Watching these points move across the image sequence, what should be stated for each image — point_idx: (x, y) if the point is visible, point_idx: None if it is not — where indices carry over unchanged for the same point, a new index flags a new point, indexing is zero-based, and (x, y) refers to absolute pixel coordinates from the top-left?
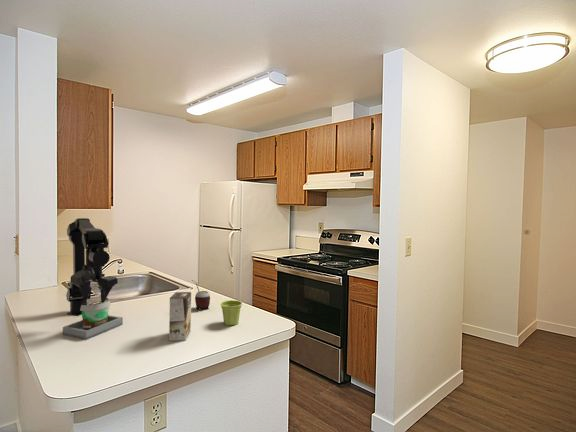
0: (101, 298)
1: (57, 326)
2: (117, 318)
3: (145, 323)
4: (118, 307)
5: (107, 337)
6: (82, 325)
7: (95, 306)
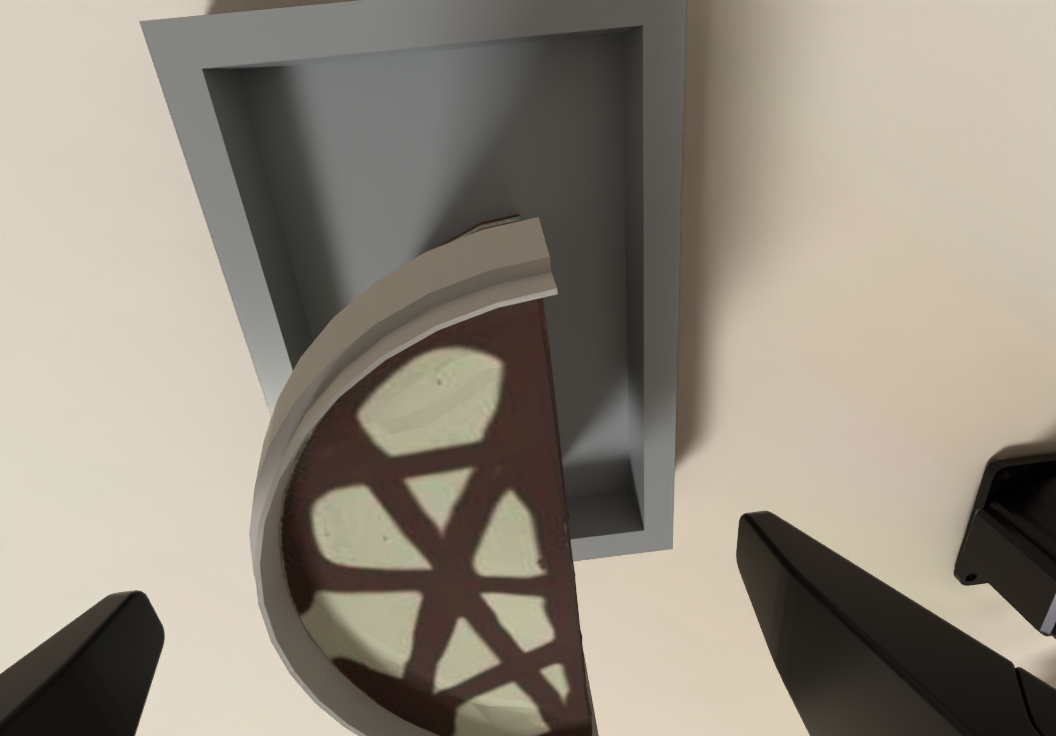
0: (9, 688)
1: (960, 157)
2: None
3: (197, 641)
4: (781, 728)
5: (80, 231)
6: (628, 276)
7: (269, 448)
